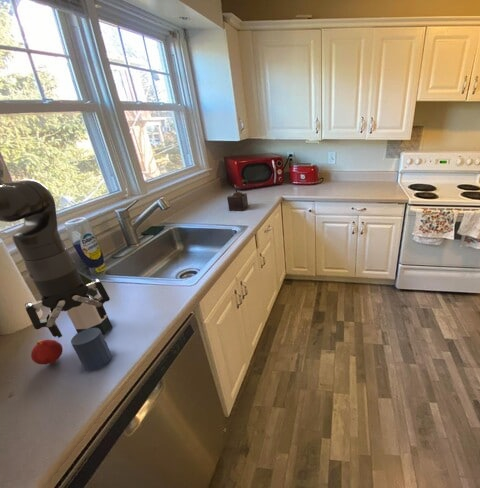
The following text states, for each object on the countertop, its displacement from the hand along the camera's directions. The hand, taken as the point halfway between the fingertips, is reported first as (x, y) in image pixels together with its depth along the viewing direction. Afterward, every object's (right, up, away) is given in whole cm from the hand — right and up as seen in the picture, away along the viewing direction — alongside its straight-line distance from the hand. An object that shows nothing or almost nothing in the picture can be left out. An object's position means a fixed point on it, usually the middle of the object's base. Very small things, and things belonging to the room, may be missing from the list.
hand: (81, 326), depth 70 cm
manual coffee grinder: (+2, +46, +124) cm, 132 cm away
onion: (-12, -11, +5) cm, 17 cm away
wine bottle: (-9, -6, +16) cm, 19 cm away
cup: (0, -11, +5) cm, 12 cm away
